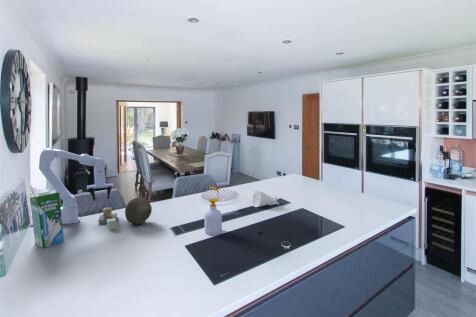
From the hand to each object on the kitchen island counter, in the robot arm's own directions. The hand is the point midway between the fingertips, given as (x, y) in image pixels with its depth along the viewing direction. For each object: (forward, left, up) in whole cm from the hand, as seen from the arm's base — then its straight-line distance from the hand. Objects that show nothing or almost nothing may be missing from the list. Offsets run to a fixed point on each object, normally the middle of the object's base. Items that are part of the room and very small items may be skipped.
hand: (101, 199), depth 166 cm
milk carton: (-20, -31, -11) cm, 38 cm away
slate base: (+4, -10, -10) cm, 15 cm away
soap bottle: (+58, -46, -11) cm, 75 cm away
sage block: (+7, -23, -10) cm, 26 cm away
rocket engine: (+105, -16, -11) cm, 106 cm away
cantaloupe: (+21, -21, -11) cm, 32 cm away
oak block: (+4, -10, -8) cm, 14 cm away
